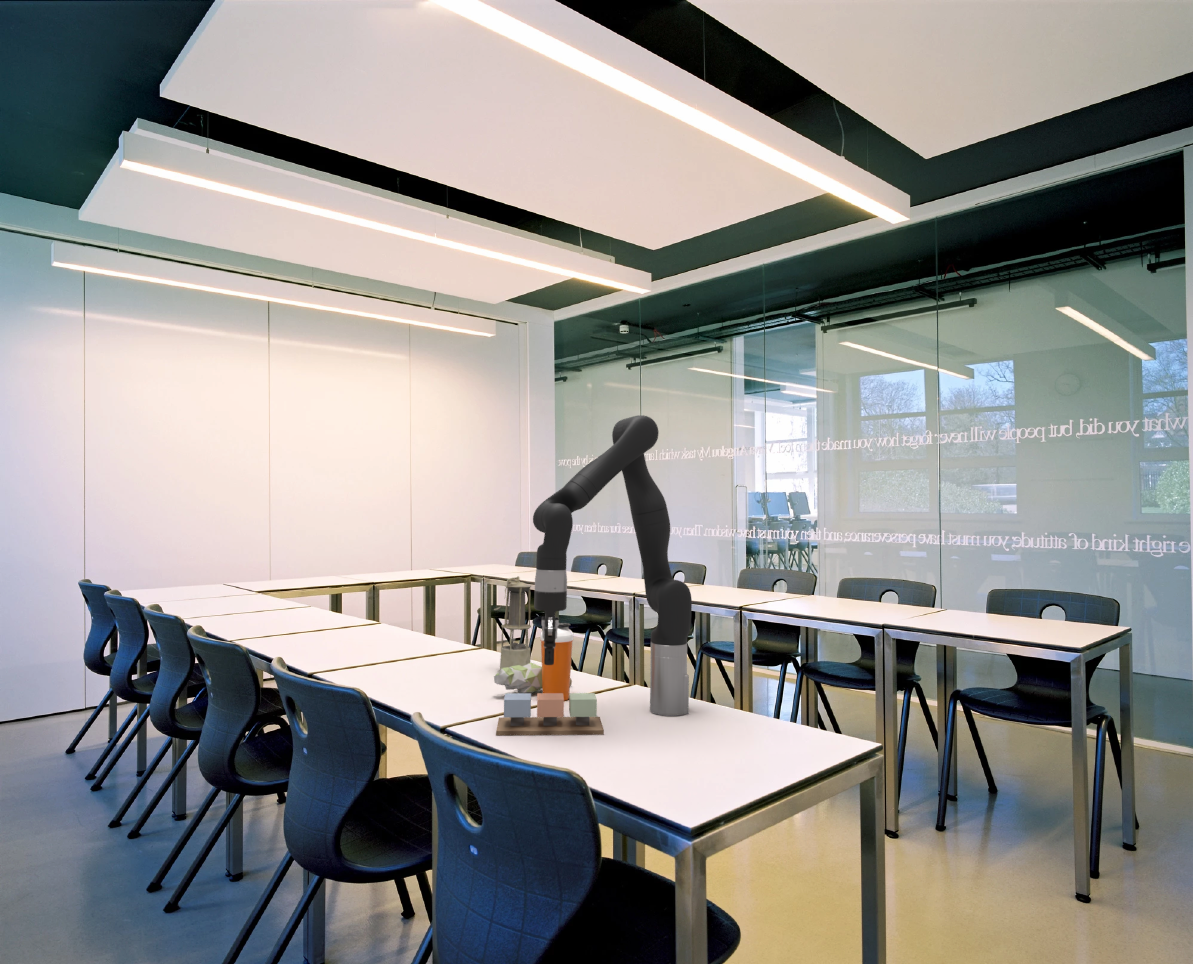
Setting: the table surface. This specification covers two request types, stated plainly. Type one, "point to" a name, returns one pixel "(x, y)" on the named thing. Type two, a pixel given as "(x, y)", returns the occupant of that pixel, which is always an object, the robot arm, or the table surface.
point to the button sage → (582, 705)
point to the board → (549, 726)
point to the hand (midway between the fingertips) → (549, 664)
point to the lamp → (515, 624)
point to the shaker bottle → (558, 663)
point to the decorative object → (521, 678)
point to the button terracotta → (550, 705)
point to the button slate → (517, 705)
